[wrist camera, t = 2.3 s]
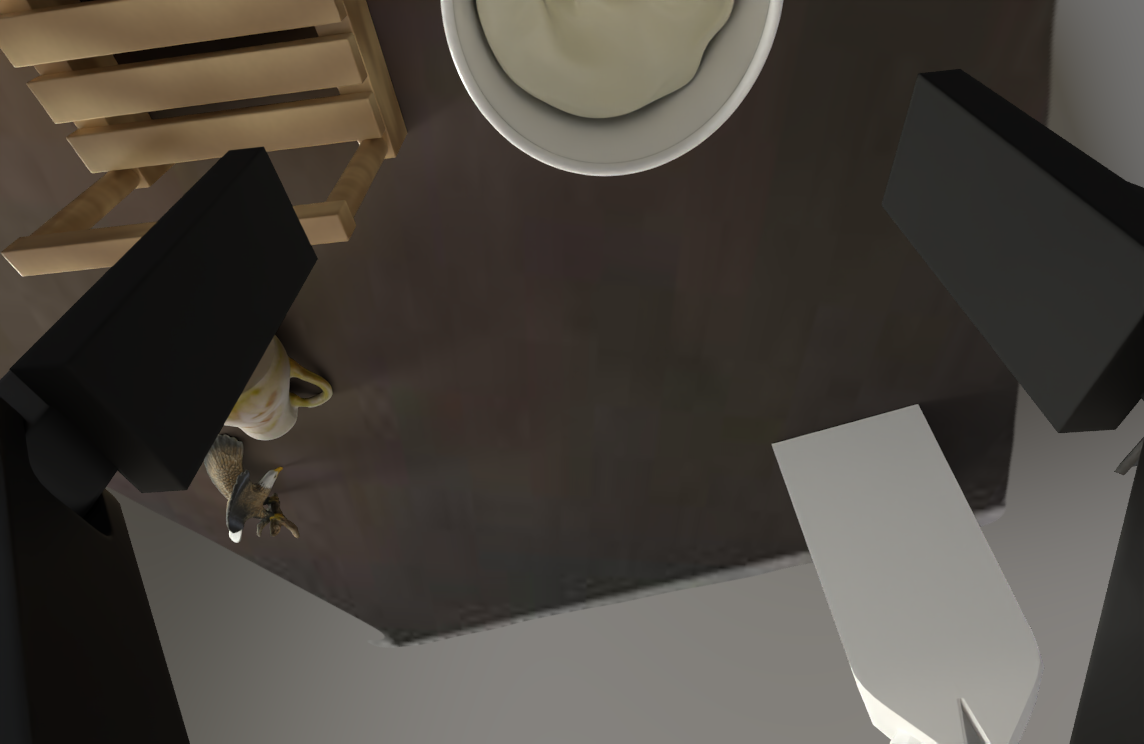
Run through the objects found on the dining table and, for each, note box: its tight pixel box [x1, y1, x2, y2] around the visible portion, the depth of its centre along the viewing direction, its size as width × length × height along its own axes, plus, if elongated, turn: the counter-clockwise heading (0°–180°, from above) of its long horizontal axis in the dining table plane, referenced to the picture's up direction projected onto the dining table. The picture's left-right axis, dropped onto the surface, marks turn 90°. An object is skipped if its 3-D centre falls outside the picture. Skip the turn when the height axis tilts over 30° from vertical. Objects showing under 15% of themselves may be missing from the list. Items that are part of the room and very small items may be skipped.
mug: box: [224, 335, 333, 440], centre depth 40 cm, size 8×10×10 cm
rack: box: [0, 0, 407, 276], centre depth 23 cm, size 13×15×11 cm
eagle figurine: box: [204, 434, 300, 543], centre depth 50 cm, size 8×7×9 cm
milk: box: [772, 404, 1044, 744], centre depth 42 cm, size 12×12×26 cm
